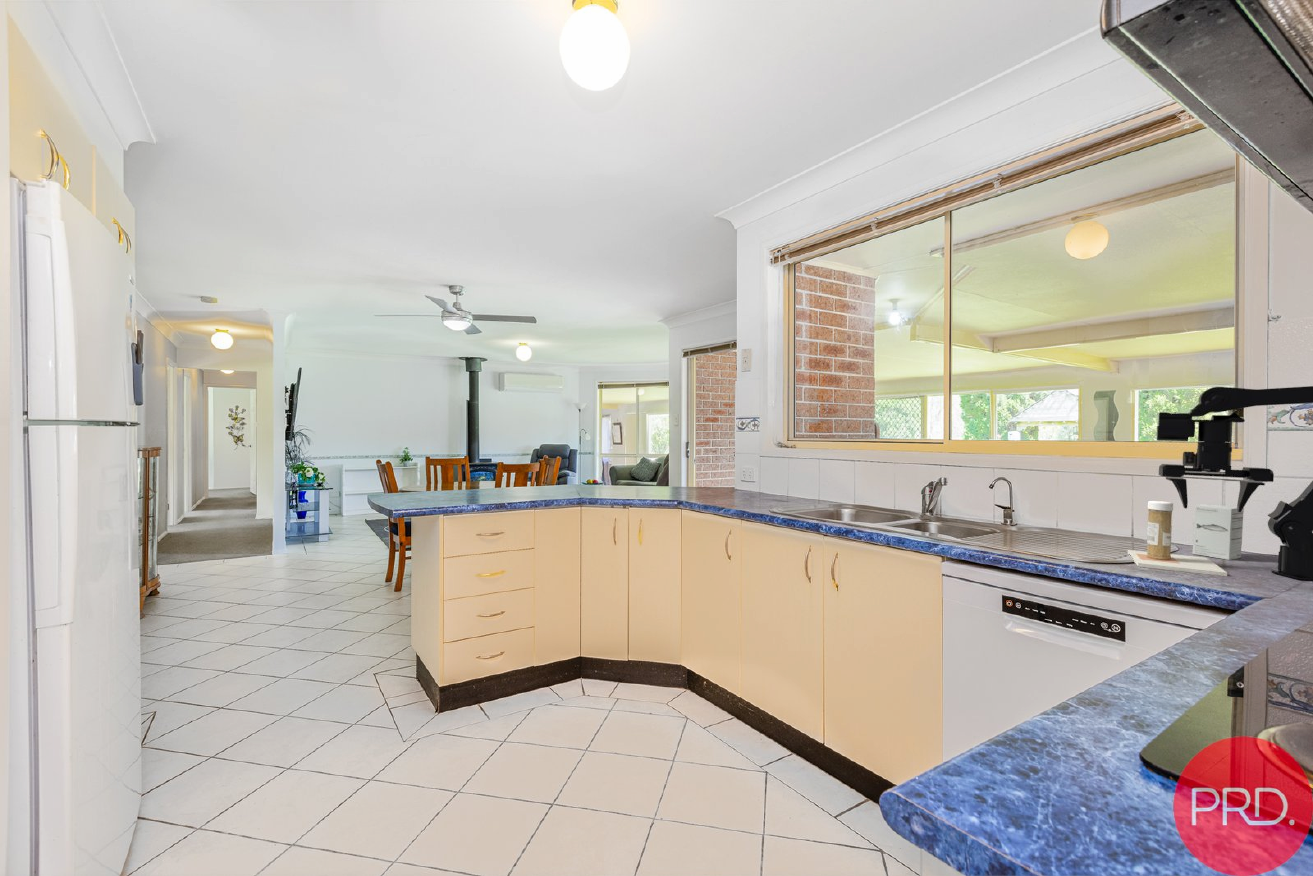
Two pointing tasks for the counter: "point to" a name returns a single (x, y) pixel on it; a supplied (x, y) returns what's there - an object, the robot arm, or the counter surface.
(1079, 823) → the counter surface
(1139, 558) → the mat
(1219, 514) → the supplement box
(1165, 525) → the sprinkles bottle
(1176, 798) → the counter surface
